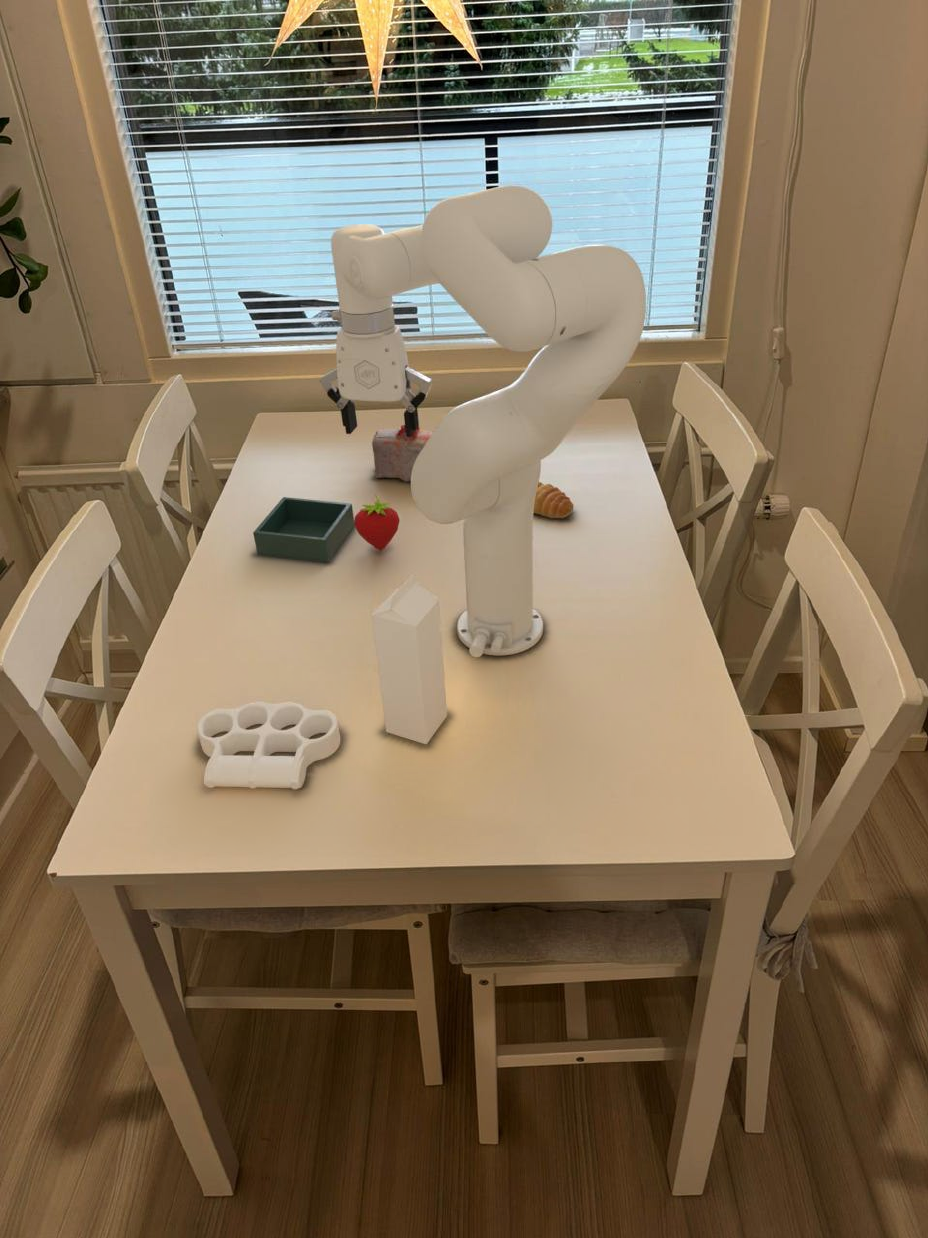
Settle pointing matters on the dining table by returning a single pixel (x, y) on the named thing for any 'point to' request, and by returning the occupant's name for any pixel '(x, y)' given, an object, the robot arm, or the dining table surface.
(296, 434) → the dining table surface
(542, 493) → the pastry
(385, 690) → the milk
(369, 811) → the dining table surface
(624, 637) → the dining table surface
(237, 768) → the white brass knuckles
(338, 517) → the open box
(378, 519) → the strawberry
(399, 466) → the food item
